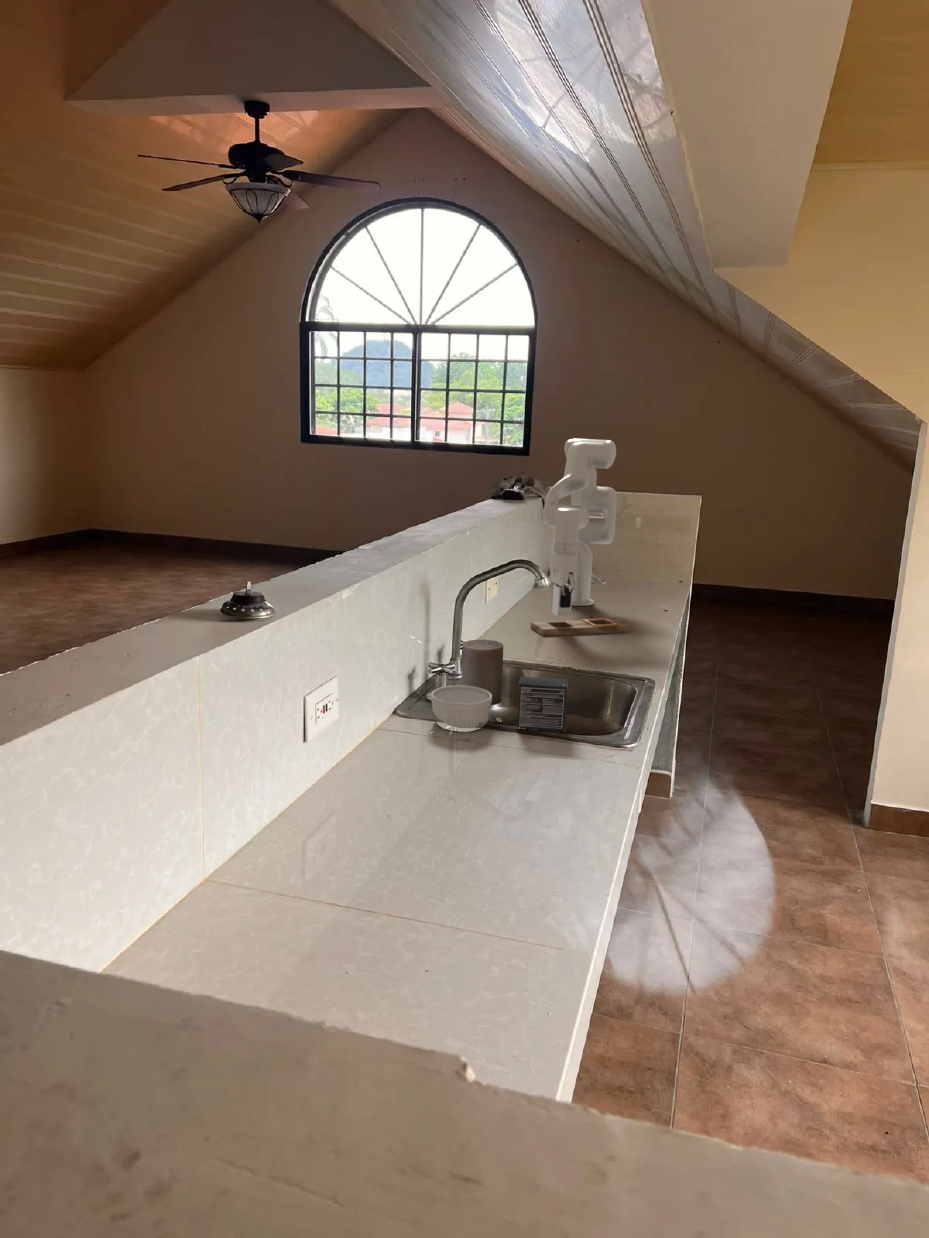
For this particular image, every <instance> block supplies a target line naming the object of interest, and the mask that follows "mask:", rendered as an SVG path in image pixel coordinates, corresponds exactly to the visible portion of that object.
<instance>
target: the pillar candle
mask: <svg viewBox="0 0 929 1238" xmlns="http://www.w3.org/2000/svg"><path fill="white" fill-rule="evenodd" d="M461 657H462V658H461V659H462V663H461V685H464V686H473V687H478V688H482V689H485V690H487V691H488V692H490V693H491V694H492V703H491V704H490V706H496V705H499V704H500V703H502V701H503V700H502V689H503V669H504V644H503V643H502V642H500V641H498V640H493V639H492V640H491V639H485V638H483V639H471V640H470V639H469V640H466V641H463V643H462V655H461Z"/></svg>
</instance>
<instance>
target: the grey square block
mask: <svg viewBox="0 0 929 1238" xmlns="http://www.w3.org/2000/svg"><path fill="white" fill-rule="evenodd" d="M566 585H567V584H566ZM552 588H553V590H552V591H553V592H552V606H551V613H552V614H554V615H555V616H556V617H564V616H566V617H567V616H568V617H569V616H572V606H573V605H572V595H571V606H570V608H561V607H560V605H561V595H562V586H559V585H554V584H553V587H552ZM567 588H568V587H565V590H566V589H567Z"/></svg>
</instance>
